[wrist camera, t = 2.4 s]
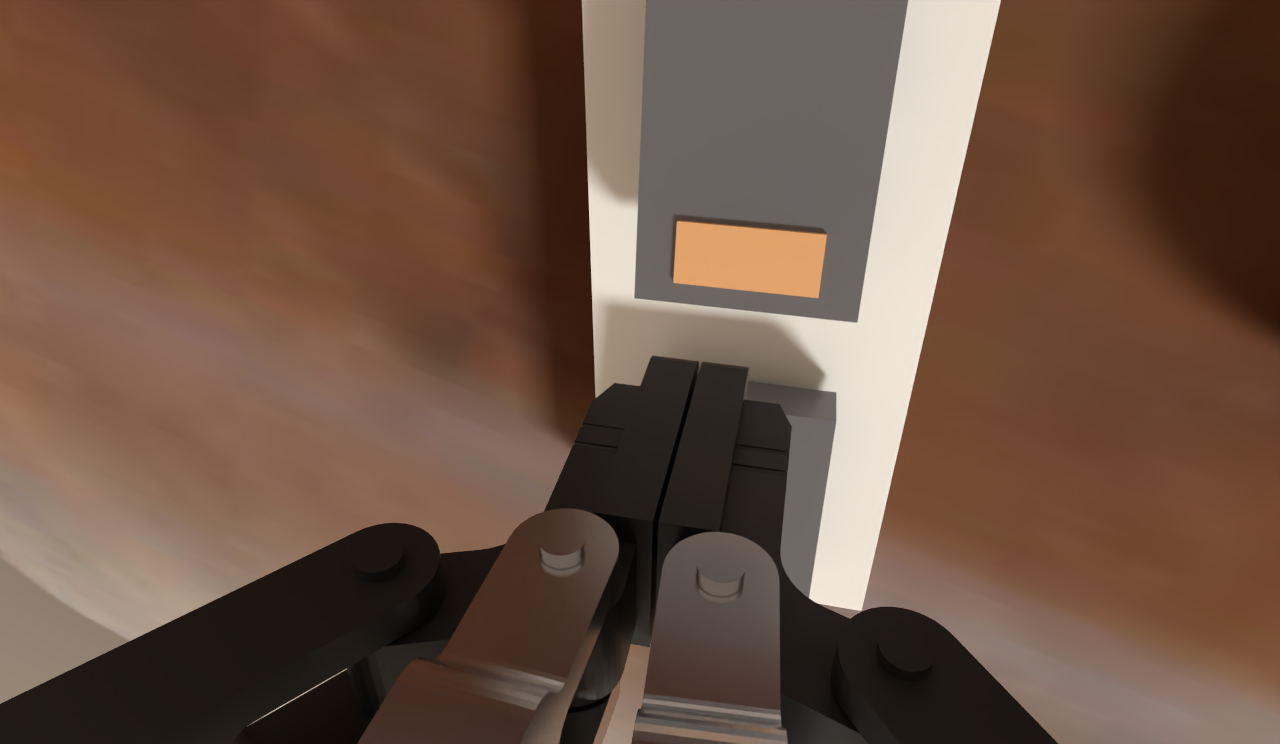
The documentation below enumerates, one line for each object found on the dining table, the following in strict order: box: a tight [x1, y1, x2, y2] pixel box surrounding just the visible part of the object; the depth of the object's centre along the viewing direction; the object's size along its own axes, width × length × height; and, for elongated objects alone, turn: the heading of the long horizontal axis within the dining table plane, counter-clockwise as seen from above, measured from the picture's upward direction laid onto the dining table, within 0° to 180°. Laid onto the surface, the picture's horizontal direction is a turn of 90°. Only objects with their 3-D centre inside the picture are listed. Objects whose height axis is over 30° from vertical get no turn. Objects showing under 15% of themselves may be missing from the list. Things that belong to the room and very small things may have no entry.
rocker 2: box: [746, 381, 836, 598], centre depth 24 cm, size 5×7×2 cm
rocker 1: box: [634, 0, 908, 323], centre depth 18 cm, size 5×7×2 cm
